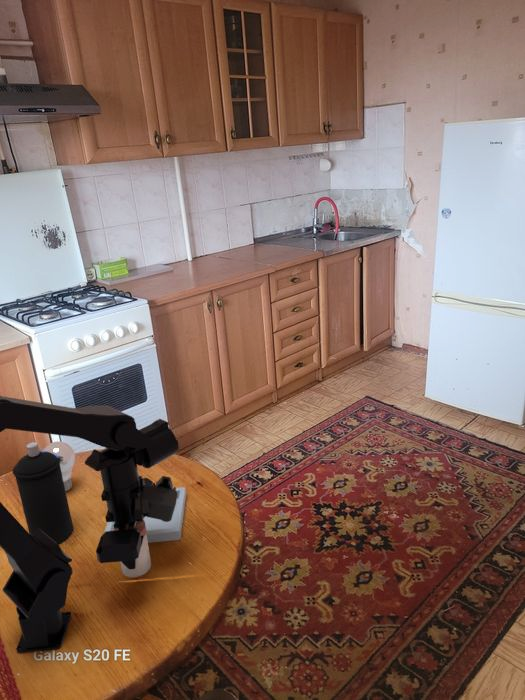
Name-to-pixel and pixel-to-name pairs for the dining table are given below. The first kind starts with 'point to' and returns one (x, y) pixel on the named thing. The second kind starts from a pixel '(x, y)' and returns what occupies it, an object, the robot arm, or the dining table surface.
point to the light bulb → (63, 460)
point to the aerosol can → (43, 494)
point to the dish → (161, 529)
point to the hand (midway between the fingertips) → (135, 557)
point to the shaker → (144, 556)
